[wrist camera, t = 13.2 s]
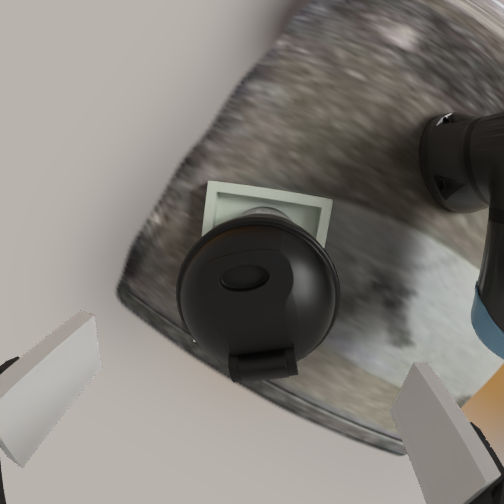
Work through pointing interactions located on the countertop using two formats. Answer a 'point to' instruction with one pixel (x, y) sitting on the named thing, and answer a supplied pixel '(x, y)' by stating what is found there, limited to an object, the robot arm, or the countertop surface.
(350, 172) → the countertop surface
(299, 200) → the tray
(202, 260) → the water bottle
